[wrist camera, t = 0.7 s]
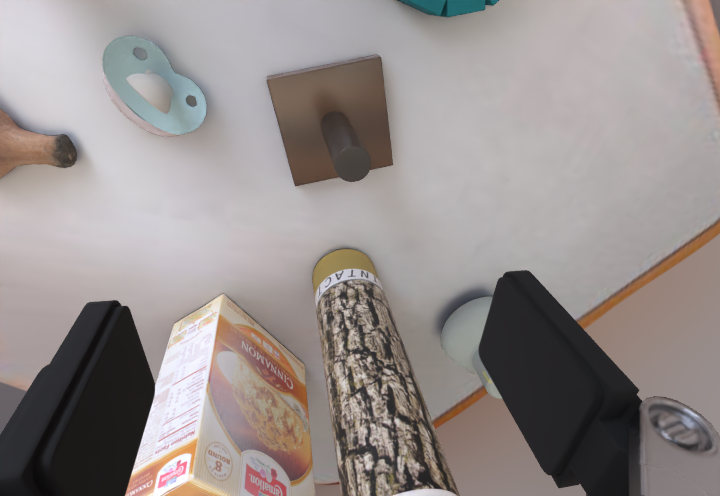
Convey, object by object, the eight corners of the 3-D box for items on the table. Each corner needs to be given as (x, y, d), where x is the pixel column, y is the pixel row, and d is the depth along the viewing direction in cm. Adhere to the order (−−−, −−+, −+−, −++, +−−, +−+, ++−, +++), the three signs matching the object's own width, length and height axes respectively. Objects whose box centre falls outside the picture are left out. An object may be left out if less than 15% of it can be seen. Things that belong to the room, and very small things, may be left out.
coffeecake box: (306, 364, 50) (323, 544, 33) (260, 391, 51) (254, 577, 34) (224, 290, 41) (193, 479, 25) (171, 323, 42) (108, 525, 26)
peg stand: (266, 76, 31) (263, 107, 23) (376, 54, 32) (415, 76, 23) (294, 180, 36) (300, 238, 28) (389, 159, 37) (424, 210, 28)
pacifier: (172, 150, 33) (220, 101, 32) (151, 181, 28) (208, 124, 27) (86, 80, 30) (137, 20, 28) (44, 100, 24) (103, 28, 23)
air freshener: (423, 324, 49) (453, 390, 41) (470, 278, 47) (512, 339, 39) (477, 353, 54) (514, 418, 46) (523, 314, 52) (571, 375, 44)
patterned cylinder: (378, 287, 45) (467, 538, 24) (320, 303, 45) (360, 570, 24) (368, 238, 41) (463, 485, 21) (304, 255, 41) (336, 522, 20)
